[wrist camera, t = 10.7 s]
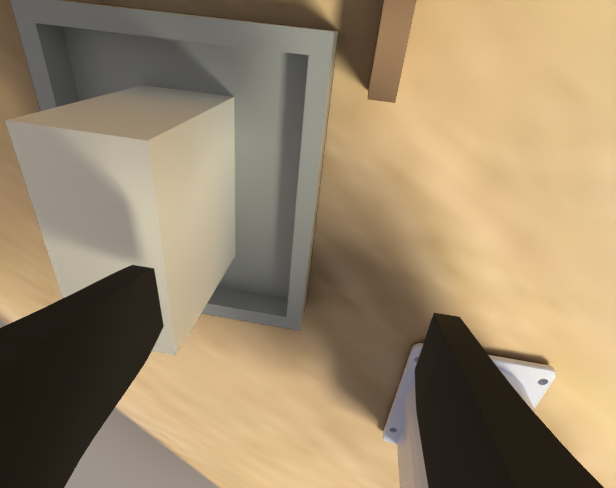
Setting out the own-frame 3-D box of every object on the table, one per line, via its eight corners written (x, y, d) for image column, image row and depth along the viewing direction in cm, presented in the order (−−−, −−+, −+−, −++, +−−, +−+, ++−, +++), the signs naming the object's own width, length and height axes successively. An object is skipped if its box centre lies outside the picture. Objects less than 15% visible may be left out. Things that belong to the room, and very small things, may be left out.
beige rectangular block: (235, 267, 20) (178, 370, 14) (165, 255, 20) (79, 351, 14) (234, 96, 15) (147, 140, 9) (143, 84, 16) (4, 120, 10)
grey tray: (305, 306, 21) (300, 330, 20) (111, 273, 22) (90, 294, 21) (338, 31, 14) (334, 31, 12) (49, -2, 15) (8, -5, 13)
